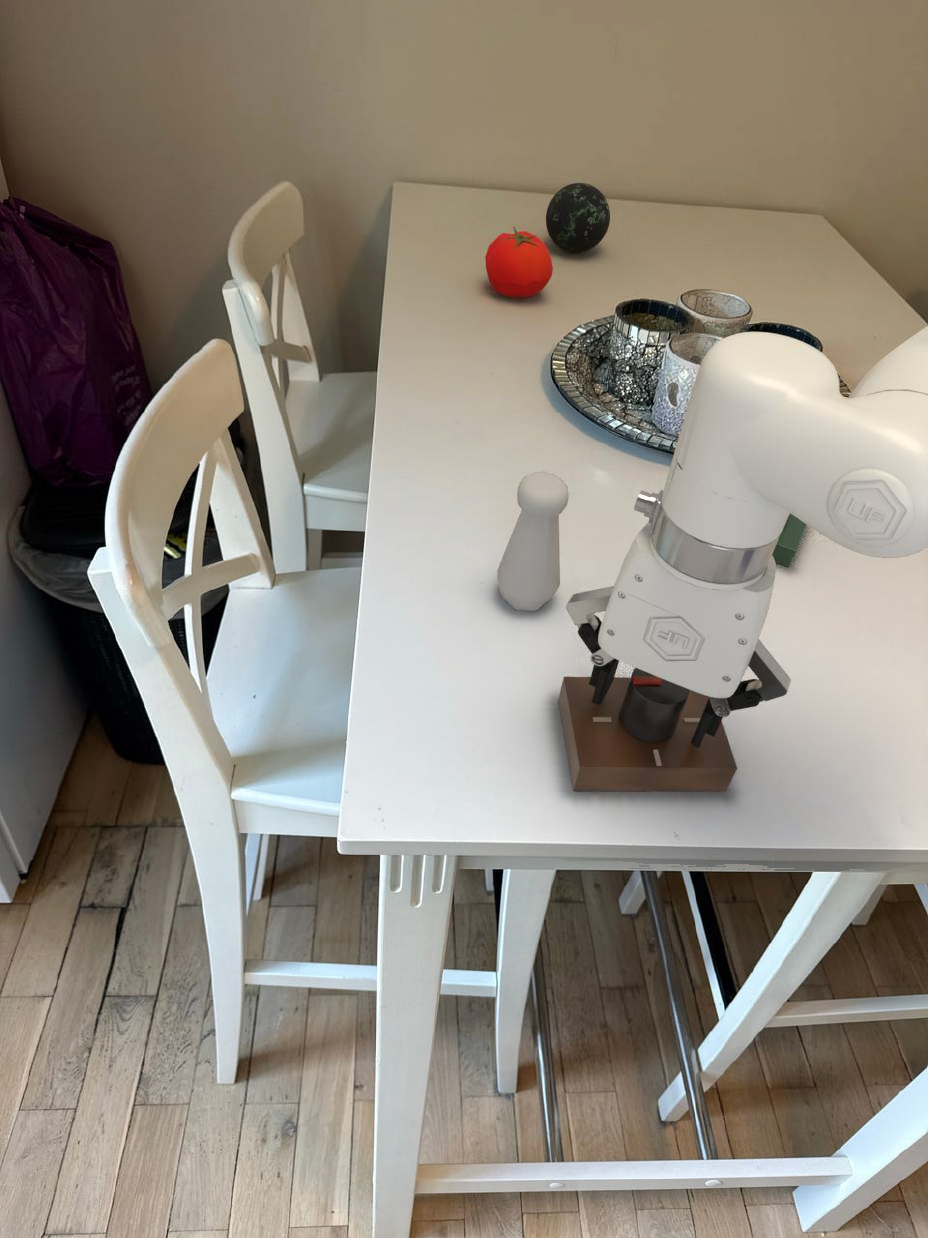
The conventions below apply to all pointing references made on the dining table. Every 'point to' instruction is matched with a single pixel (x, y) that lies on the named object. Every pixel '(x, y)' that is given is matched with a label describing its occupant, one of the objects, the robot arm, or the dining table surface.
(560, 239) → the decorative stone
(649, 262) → the dining table surface
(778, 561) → the button box
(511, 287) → the tomato
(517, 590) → the salt shaker
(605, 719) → the panel
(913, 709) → the dining table surface
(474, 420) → the dining table surface
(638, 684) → the knob
